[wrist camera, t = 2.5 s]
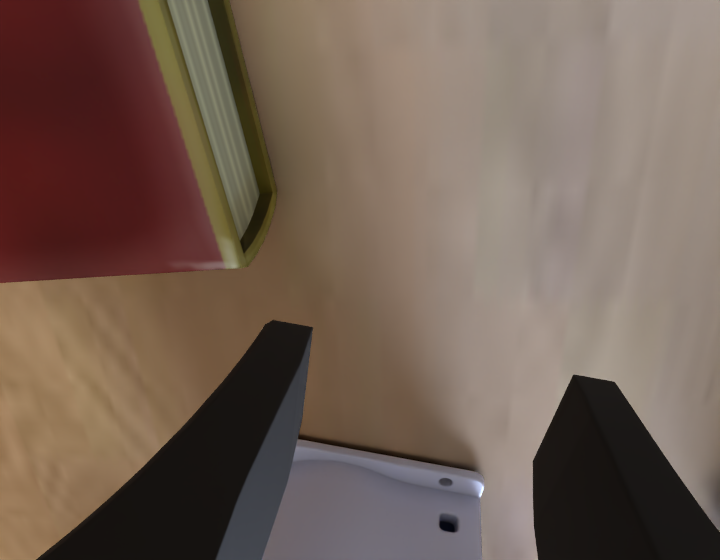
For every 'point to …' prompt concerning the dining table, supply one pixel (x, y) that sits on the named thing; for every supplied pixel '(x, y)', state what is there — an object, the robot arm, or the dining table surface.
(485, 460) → the dining table surface
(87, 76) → the hardcover book
